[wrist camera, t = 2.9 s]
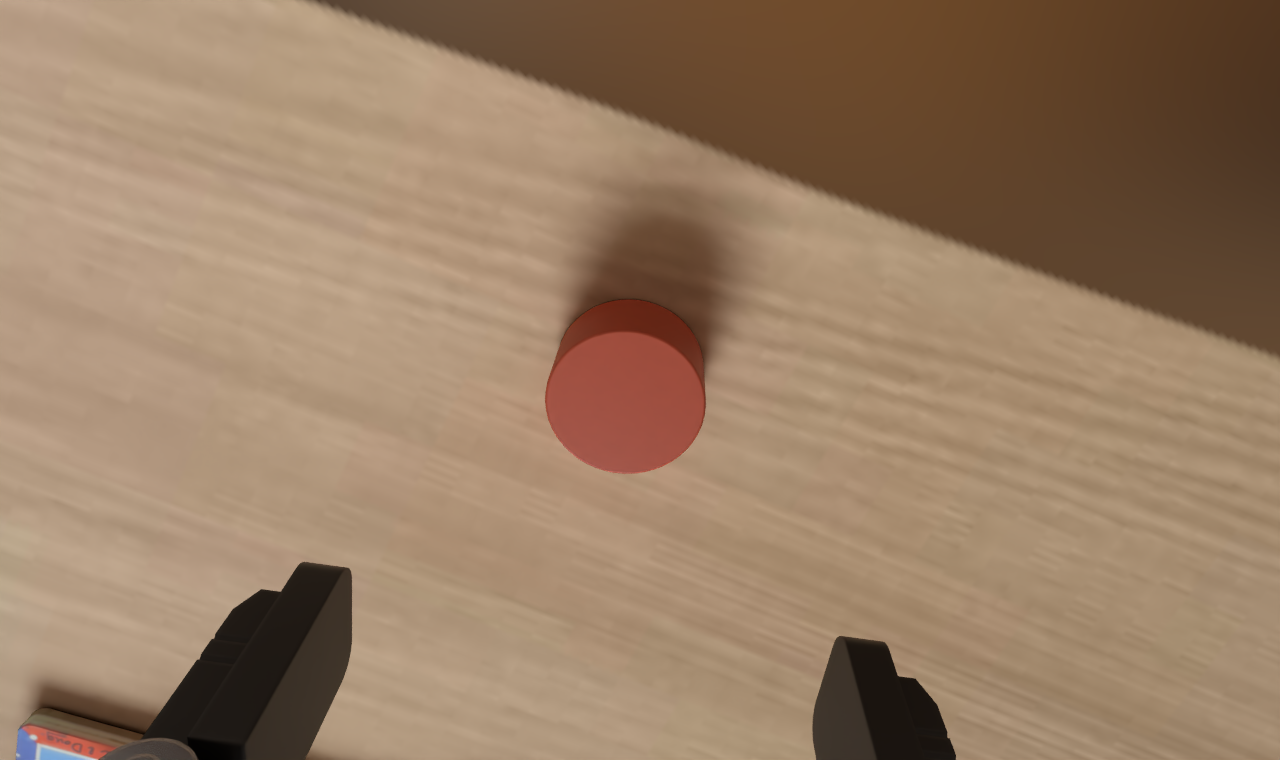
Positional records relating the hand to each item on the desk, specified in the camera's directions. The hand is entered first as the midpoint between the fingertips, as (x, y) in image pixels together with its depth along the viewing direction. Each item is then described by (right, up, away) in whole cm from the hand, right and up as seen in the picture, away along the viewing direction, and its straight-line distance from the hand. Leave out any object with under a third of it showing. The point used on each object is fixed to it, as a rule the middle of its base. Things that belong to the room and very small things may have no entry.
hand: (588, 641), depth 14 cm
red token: (+1, +5, +10) cm, 11 cm away
